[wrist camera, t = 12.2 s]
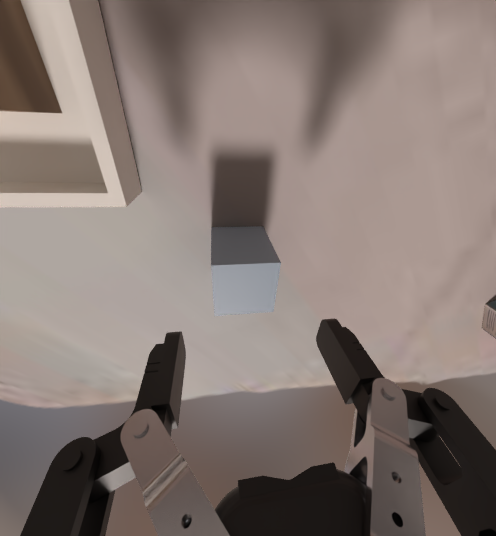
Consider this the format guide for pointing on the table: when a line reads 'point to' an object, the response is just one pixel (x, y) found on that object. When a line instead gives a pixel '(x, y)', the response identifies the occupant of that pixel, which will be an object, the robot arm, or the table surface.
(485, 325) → the printed cardboard box
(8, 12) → the walnut block
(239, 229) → the slate block
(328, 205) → the table surface
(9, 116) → the tray
